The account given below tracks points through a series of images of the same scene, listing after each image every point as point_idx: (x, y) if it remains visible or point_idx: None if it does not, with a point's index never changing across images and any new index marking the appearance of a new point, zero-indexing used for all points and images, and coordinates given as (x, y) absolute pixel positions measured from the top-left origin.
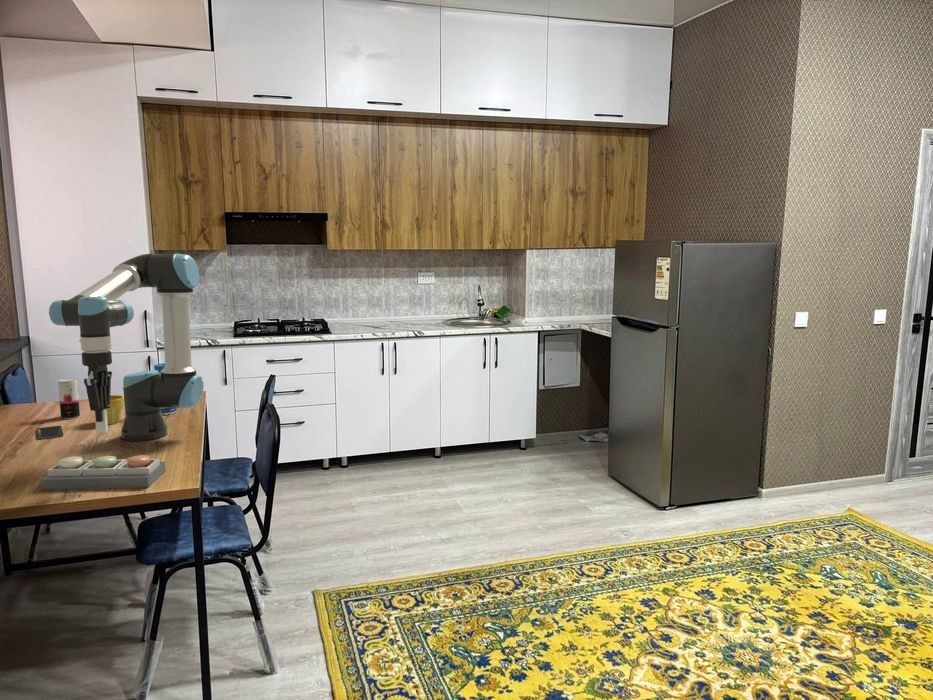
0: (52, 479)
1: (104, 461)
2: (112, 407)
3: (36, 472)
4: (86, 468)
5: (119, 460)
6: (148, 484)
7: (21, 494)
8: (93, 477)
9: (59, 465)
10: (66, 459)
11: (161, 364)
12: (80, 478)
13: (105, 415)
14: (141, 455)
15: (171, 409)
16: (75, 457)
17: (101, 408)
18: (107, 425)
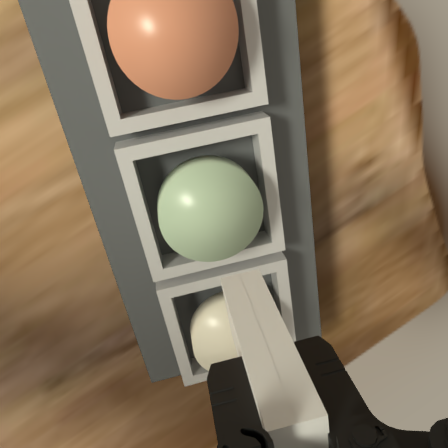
0: (318, 306)
1: (249, 190)
2: None
3: (159, 430)
4: (271, 242)
5: (137, 176)
6: None
7: (346, 335)
8: (298, 181)
9: None
10: (237, 355)
11: None
12: (311, 222)
13: (286, 368)
14: (113, 47)
15: None
16: (206, 344)
17: (394, 440)
18: (232, 304)
